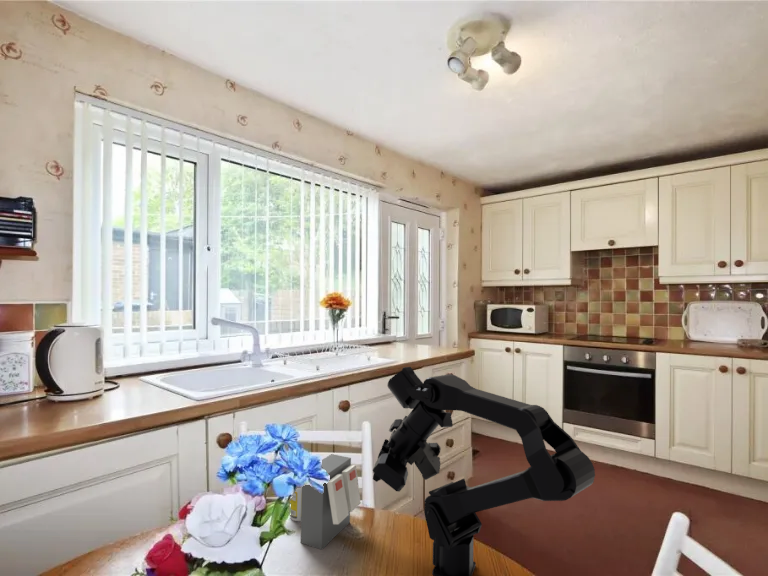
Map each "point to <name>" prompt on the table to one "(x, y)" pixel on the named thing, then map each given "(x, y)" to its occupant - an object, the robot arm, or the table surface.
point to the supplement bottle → (296, 505)
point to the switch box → (321, 508)
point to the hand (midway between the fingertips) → (374, 479)
